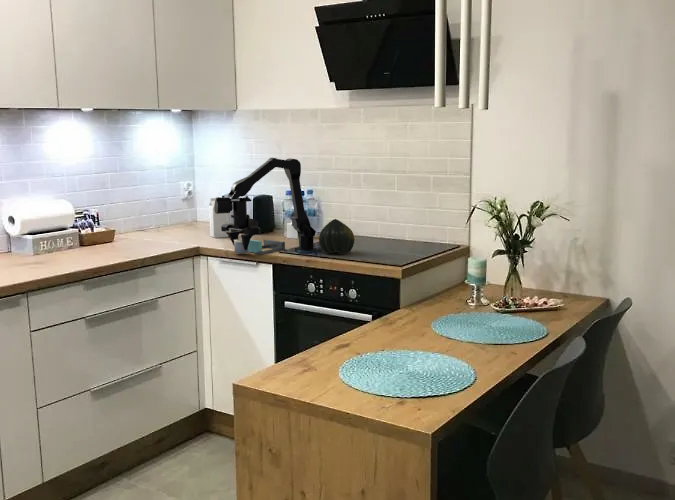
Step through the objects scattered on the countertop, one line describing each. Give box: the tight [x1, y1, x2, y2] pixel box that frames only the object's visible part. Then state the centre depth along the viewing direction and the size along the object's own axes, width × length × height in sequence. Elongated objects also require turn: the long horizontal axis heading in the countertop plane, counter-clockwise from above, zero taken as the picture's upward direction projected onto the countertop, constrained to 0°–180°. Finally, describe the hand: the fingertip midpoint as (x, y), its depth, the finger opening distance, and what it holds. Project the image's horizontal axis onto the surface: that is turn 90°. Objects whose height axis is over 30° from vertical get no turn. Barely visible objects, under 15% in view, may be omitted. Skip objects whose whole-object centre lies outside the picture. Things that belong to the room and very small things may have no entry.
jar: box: [233, 238, 249, 254], centre depth 311 cm, size 6×6×5 cm
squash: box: [318, 218, 355, 255], centre depth 313 cm, size 14×15×15 cm
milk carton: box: [208, 197, 229, 239], centre depth 360 cm, size 7×7×19 cm
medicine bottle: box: [286, 212, 300, 240], centre depth 355 cm, size 7×7×12 cm
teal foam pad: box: [248, 238, 263, 254], centre depth 316 cm, size 2×9×5 cm, turn 48°
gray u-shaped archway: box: [255, 238, 286, 256], centre depth 320 cm, size 16×12×4 cm
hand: (241, 249), depth 311 cm, fingers closed on jar, 6 cm apart
